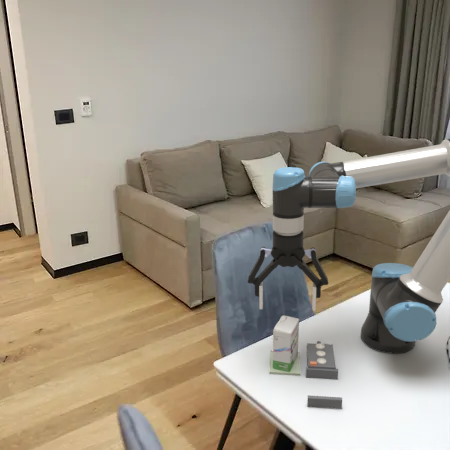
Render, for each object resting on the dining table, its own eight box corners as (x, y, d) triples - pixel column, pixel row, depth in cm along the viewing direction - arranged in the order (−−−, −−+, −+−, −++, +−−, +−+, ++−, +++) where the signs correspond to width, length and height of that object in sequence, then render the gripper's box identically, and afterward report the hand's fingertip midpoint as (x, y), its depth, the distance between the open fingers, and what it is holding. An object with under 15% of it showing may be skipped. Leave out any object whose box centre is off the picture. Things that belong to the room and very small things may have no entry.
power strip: (332, 344, 148) (333, 333, 147) (341, 409, 122) (342, 395, 121) (304, 343, 149) (304, 332, 148) (307, 406, 123) (308, 393, 122)
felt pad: (299, 354, 144) (299, 352, 144) (300, 375, 134) (300, 373, 134) (270, 352, 145) (270, 350, 145) (269, 373, 135) (269, 371, 135)
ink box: (290, 372, 135) (291, 333, 131) (271, 368, 136) (272, 329, 133) (298, 355, 142) (299, 317, 138) (281, 351, 144) (282, 314, 140)
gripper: (338, 226, 129) (335, 302, 136) (239, 225, 132) (240, 299, 139) (341, 236, 122) (337, 316, 129) (236, 235, 125) (238, 313, 132)
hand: (287, 307), depth 134 cm, fingers open, 13 cm apart
